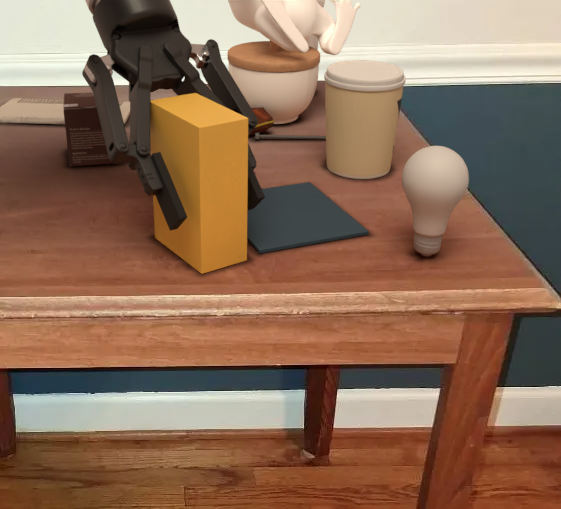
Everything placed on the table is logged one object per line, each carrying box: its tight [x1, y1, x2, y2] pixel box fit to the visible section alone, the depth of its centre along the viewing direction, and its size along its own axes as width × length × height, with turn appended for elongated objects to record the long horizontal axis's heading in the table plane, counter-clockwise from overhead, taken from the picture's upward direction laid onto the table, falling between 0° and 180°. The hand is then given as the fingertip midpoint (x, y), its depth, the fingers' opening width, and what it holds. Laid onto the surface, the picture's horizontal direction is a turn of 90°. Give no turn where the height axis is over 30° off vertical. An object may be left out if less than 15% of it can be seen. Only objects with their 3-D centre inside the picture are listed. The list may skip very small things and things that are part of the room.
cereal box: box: [150, 93, 249, 275], centre depth 78 cm, size 5×9×14 cm, turn 36°
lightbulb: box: [401, 145, 470, 257], centre depth 79 cm, size 6×6×11 cm
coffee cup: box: [323, 59, 407, 180], centre depth 100 cm, size 9×9×12 cm
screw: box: [254, 133, 326, 141], centre depth 110 cm, size 10×1×1 cm, turn 95°
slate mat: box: [247, 181, 370, 254], centre depth 89 cm, size 12×14×1 cm
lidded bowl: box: [227, 40, 321, 125], centre depth 116 cm, size 13×13×11 cm
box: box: [63, 92, 113, 167], centre depth 101 cm, size 6×6×7 cm
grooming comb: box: [0, 97, 130, 125], centre depth 117 cm, size 18×10×1 cm, turn 88°
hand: (218, 213), depth 77 cm, fingers open, 8 cm apart
